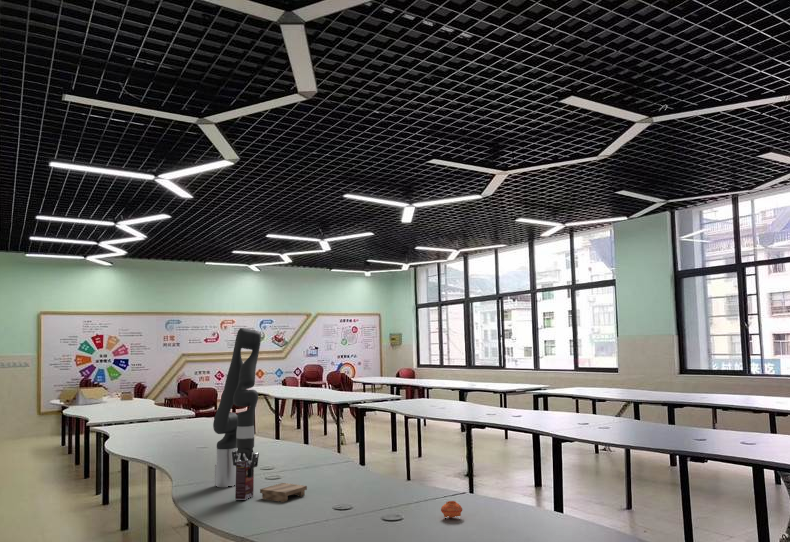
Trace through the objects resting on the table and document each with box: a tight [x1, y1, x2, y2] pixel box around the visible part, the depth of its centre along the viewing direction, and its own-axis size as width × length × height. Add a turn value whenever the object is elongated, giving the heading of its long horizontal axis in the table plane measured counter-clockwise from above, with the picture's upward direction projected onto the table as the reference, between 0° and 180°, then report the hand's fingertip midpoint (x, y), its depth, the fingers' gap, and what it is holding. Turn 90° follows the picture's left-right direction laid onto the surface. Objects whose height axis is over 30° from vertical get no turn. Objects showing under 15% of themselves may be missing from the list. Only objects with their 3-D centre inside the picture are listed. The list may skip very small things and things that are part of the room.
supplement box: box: [234, 460, 255, 501], centre depth 267 cm, size 9×5×16 cm, turn 168°
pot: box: [440, 500, 463, 518], centre depth 230 cm, size 8×8×7 cm
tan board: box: [259, 482, 308, 503], centre depth 268 cm, size 14×14×4 cm
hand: (245, 476), depth 267 cm, fingers closed on supplement box, 5 cm apart
